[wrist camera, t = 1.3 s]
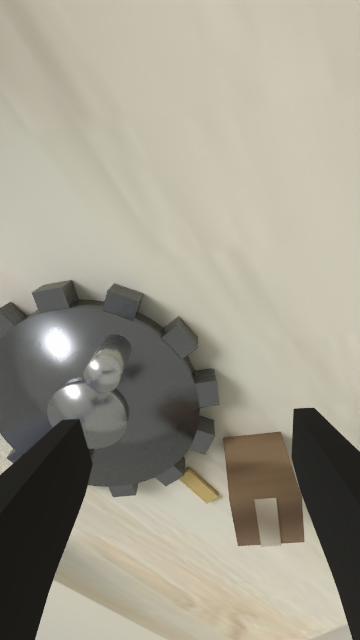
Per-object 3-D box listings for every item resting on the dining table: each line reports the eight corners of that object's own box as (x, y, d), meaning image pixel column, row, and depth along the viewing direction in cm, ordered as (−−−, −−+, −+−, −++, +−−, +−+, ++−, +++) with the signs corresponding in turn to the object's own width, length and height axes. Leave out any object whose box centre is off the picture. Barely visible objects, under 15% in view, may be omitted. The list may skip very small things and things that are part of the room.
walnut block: (283, 472, 23) (304, 543, 19) (230, 477, 24) (238, 547, 19) (280, 431, 22) (302, 497, 17) (223, 437, 22) (229, 503, 18)
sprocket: (232, 470, 23) (239, 530, 19) (32, 488, 26) (0, 546, 21) (194, 257, 17) (192, 279, 13) (-65, 304, 19) (-137, 337, 15)
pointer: (218, 493, 25) (218, 497, 24) (206, 500, 25) (206, 503, 25) (189, 467, 24) (188, 470, 23) (177, 474, 24) (176, 477, 24)
